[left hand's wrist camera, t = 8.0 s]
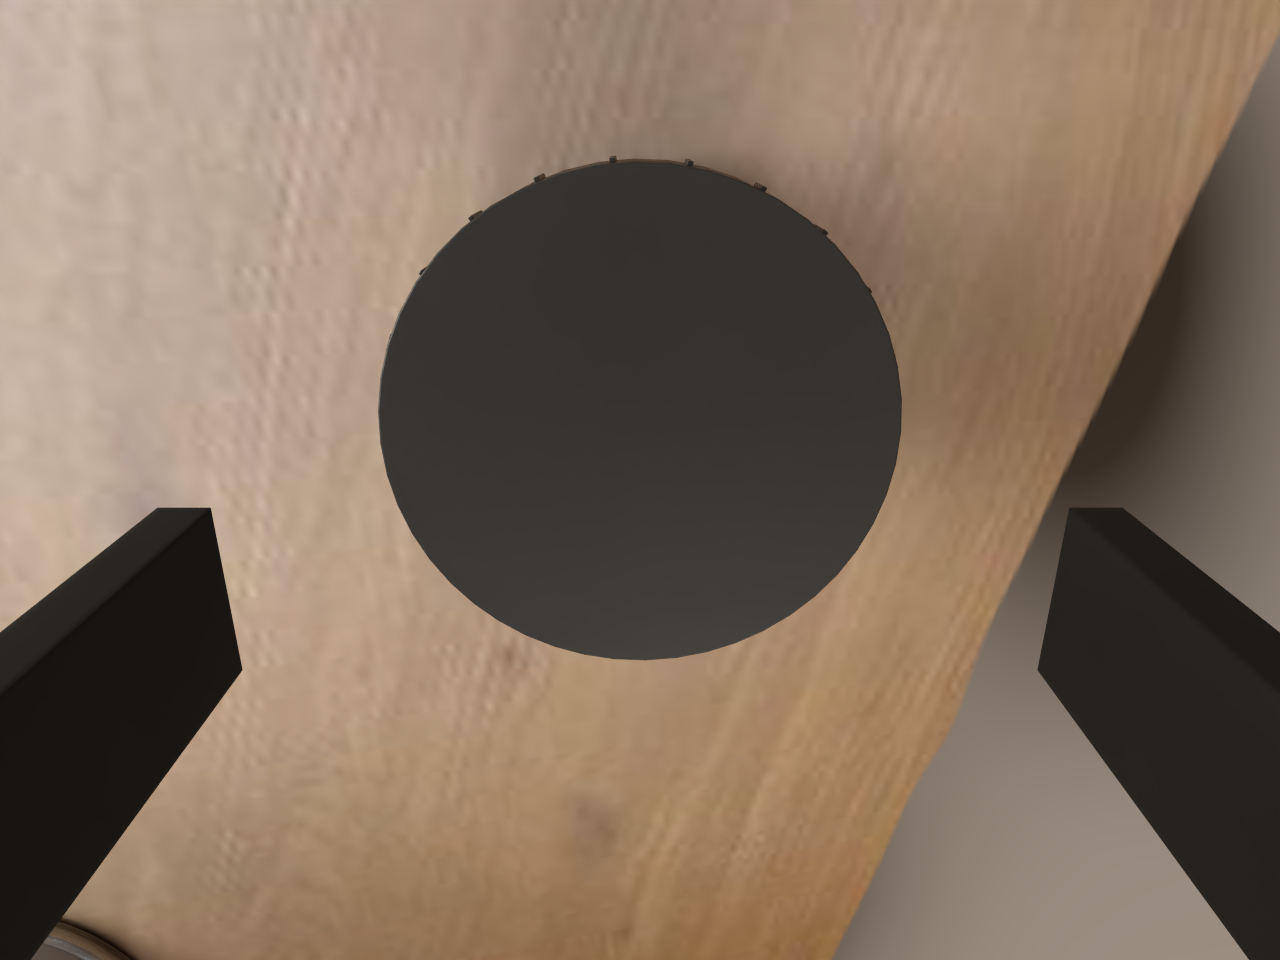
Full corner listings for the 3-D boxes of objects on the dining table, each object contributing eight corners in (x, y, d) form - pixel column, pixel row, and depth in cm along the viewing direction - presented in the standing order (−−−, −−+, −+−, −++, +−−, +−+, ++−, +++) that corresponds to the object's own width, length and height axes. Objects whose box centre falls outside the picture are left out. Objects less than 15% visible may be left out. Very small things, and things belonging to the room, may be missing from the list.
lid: (392, 604, 23) (374, 640, 21) (395, 124, 19) (373, 125, 17) (833, 645, 23) (847, 683, 22) (934, 187, 19) (960, 192, 18)
